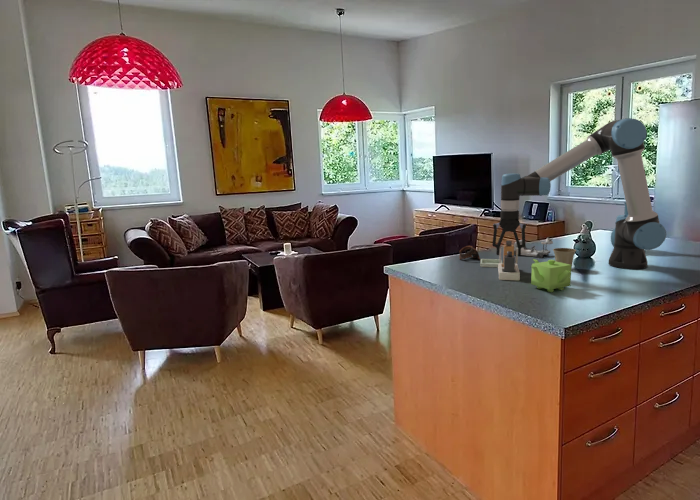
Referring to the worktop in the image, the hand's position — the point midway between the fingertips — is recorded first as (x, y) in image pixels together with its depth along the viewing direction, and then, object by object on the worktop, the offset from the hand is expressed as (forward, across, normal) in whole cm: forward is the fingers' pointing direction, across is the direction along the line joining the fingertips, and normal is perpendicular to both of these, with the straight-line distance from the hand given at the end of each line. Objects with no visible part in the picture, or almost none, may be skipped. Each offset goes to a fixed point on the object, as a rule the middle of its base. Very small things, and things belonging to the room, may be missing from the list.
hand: (508, 262), depth 208 cm
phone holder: (+5, -14, -40) cm, 42 cm away
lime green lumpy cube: (+5, -14, +24) cm, 28 cm away
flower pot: (+5, -24, -10) cm, 27 cm away
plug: (+4, 0, 0) cm, 4 cm away
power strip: (+4, 0, +4) cm, 6 cm away
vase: (+5, -61, -56) cm, 83 cm away
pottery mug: (+5, +17, -24) cm, 30 cm away
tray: (+4, +7, -12) cm, 15 cm away
